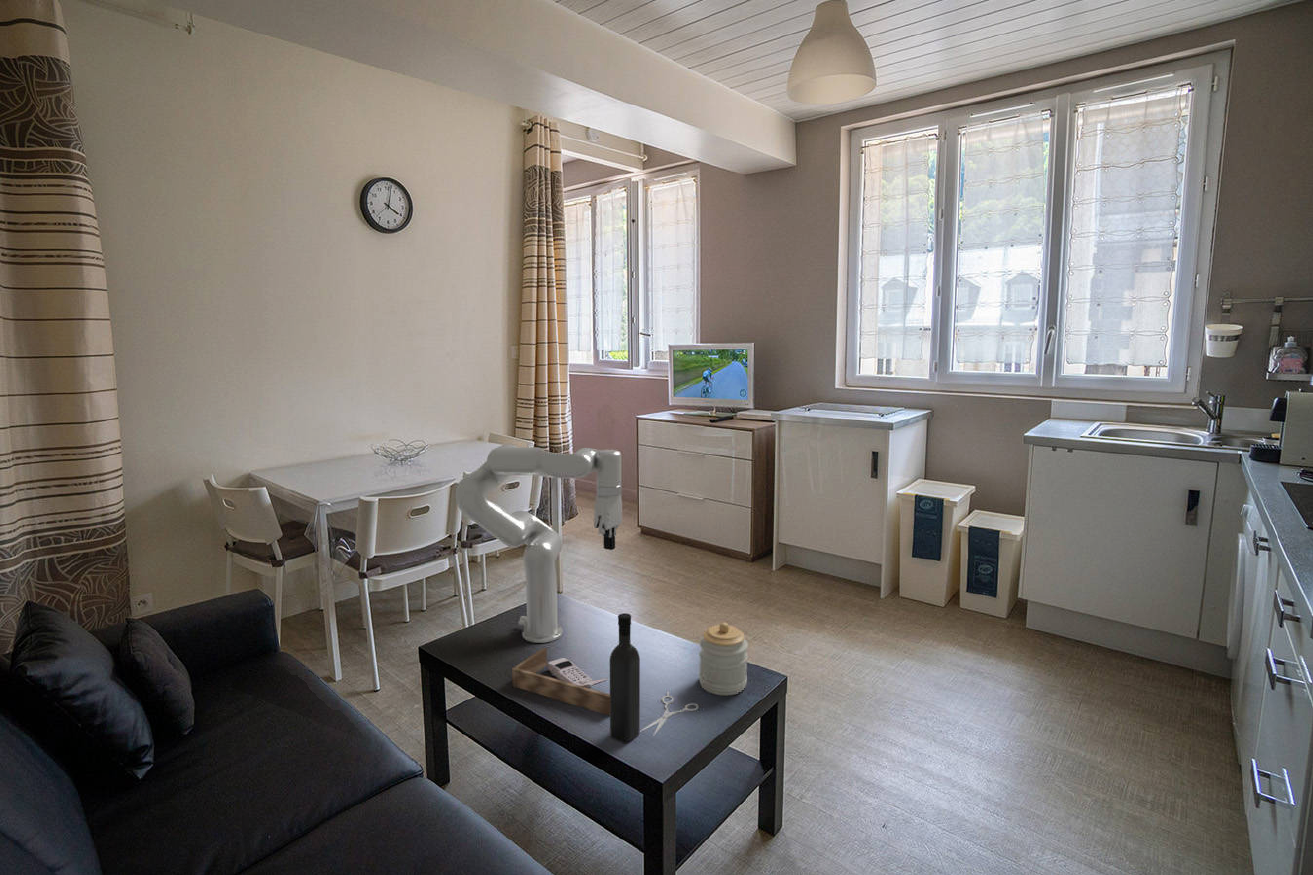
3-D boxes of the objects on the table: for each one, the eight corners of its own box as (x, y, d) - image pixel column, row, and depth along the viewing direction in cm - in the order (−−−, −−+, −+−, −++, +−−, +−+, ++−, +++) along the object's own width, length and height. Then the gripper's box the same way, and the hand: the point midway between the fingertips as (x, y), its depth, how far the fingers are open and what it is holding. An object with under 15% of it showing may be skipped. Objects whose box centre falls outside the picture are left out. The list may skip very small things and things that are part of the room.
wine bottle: (607, 736, 159) (607, 616, 155) (622, 725, 164) (622, 608, 159) (627, 745, 156) (627, 622, 151) (641, 733, 161) (641, 614, 156)
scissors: (702, 702, 174) (664, 740, 157) (702, 705, 174) (664, 744, 157) (667, 691, 179) (626, 727, 162) (667, 693, 179) (626, 730, 162)
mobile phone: (589, 685, 172) (542, 648, 191) (589, 706, 172) (542, 668, 192) (609, 678, 175) (560, 643, 195) (609, 699, 176) (560, 662, 196)
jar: (746, 673, 189) (747, 614, 187) (747, 698, 177) (749, 634, 174) (699, 671, 191) (700, 612, 188) (698, 695, 178) (699, 632, 175)
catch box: (512, 686, 182) (512, 668, 181) (544, 663, 194) (543, 647, 193) (611, 715, 168) (611, 697, 167) (638, 689, 180) (638, 672, 179)
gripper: (611, 484, 212) (611, 540, 215) (585, 494, 199) (585, 553, 202) (631, 487, 209) (631, 543, 212) (606, 497, 196) (607, 557, 199)
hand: (609, 548), depth 207 cm, fingers closed
